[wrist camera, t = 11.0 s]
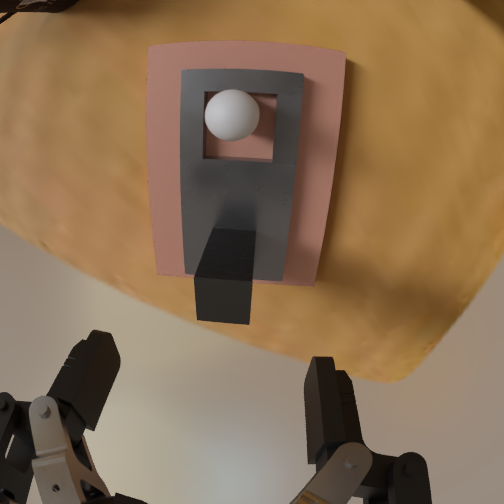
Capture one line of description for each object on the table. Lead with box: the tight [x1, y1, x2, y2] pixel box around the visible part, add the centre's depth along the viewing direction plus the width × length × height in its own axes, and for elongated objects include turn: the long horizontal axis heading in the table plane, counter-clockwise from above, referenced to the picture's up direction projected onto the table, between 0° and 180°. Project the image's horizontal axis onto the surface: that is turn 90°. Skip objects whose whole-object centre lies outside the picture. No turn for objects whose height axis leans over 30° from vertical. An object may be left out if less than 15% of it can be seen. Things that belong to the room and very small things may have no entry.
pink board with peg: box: [146, 41, 346, 286], centre depth 17 cm, size 18×13×8 cm
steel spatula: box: [180, 69, 304, 325], centre depth 16 cm, size 15×7×7 cm, turn 177°
